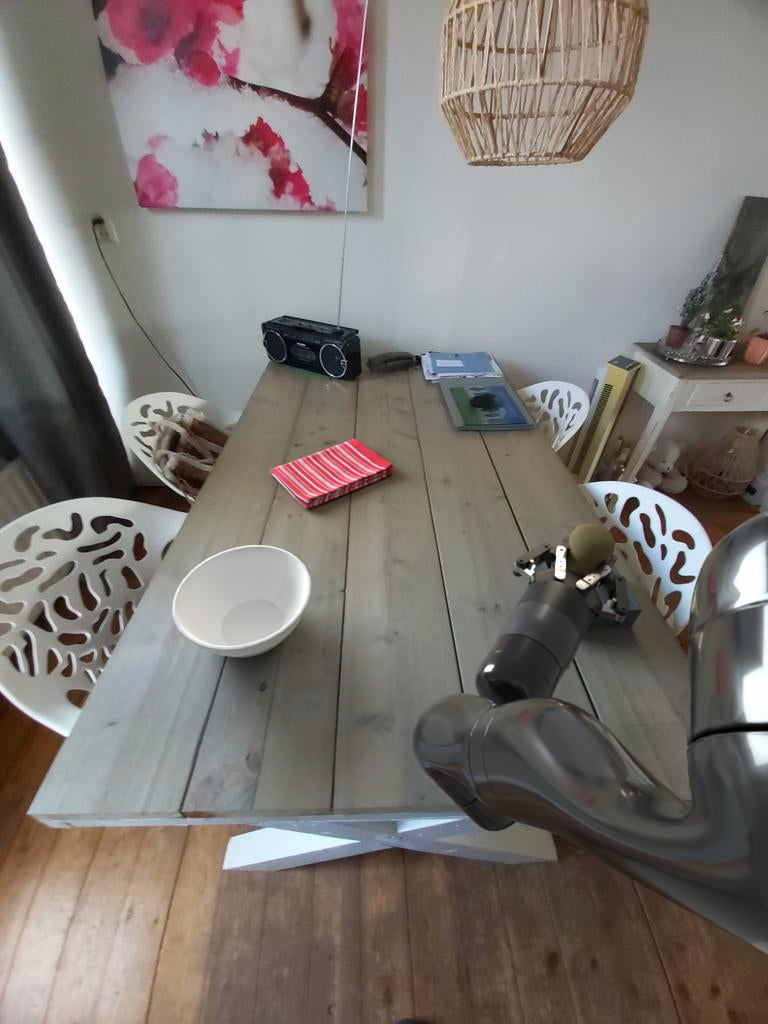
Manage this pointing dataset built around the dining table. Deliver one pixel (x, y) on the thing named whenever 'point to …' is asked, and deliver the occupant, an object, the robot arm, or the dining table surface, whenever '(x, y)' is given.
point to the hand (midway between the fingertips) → (590, 546)
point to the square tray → (603, 595)
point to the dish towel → (332, 473)
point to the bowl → (242, 600)
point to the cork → (589, 548)
